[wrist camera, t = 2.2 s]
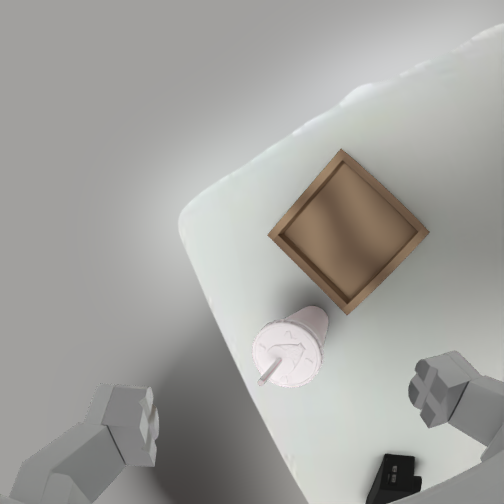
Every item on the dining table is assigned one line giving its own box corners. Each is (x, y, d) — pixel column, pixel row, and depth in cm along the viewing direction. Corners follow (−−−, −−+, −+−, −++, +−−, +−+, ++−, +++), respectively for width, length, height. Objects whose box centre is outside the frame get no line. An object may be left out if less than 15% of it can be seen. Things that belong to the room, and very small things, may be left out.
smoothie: (275, 313, 37) (212, 363, 24) (318, 282, 35) (272, 325, 22) (306, 356, 36) (259, 424, 23) (351, 329, 34) (324, 395, 21)
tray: (344, 152, 32) (341, 148, 29) (426, 230, 29) (429, 232, 27) (275, 233, 36) (267, 235, 34) (350, 308, 33) (347, 315, 31)
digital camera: (400, 501, 33) (395, 535, 26) (366, 498, 35) (357, 531, 28) (423, 456, 31) (422, 493, 25) (385, 453, 33) (379, 489, 27)
